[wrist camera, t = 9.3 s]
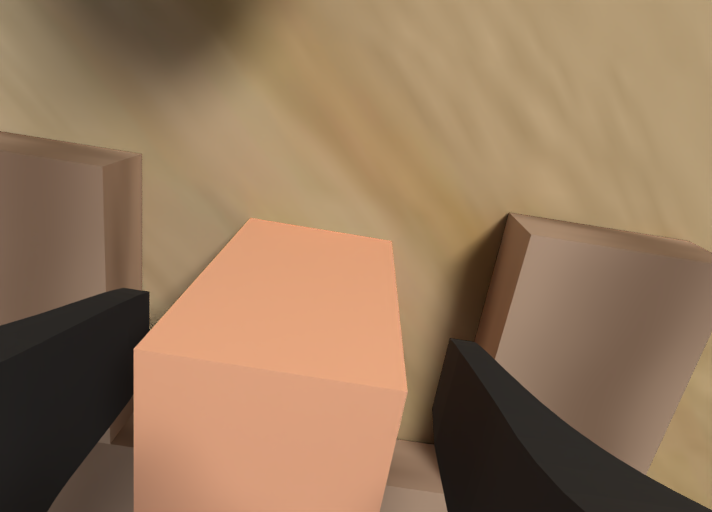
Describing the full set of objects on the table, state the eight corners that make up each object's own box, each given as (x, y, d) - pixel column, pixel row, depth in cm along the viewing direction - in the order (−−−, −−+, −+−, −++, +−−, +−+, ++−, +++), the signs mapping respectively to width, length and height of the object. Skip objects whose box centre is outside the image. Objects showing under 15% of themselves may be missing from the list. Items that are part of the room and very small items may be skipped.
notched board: (-1, 473, 17) (-47, 522, 15) (-46, 123, 13) (-117, 131, 11) (559, 556, 17) (581, 613, 16) (689, 240, 13) (741, 267, 11)
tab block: (239, 342, 15) (133, 549, 8) (250, 217, 14) (134, 349, 7) (367, 362, 15) (363, 583, 8) (391, 240, 14) (407, 391, 7)
